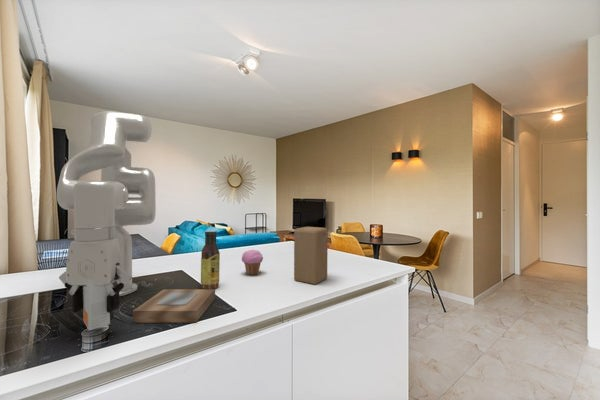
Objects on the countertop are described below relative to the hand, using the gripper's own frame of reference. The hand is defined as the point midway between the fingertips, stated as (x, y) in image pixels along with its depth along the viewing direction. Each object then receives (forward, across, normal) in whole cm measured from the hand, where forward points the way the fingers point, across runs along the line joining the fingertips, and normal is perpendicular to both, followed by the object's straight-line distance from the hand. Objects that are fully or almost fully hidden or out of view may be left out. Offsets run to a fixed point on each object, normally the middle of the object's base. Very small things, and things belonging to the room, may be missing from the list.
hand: (96, 309), depth 64 cm
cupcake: (+7, +28, +49) cm, 57 cm away
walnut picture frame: (+6, +14, +13) cm, 20 cm away
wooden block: (+6, +52, +41) cm, 67 cm away
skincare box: (+4, 0, 0) cm, 4 cm away
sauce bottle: (+6, +16, +32) cm, 37 cm away
